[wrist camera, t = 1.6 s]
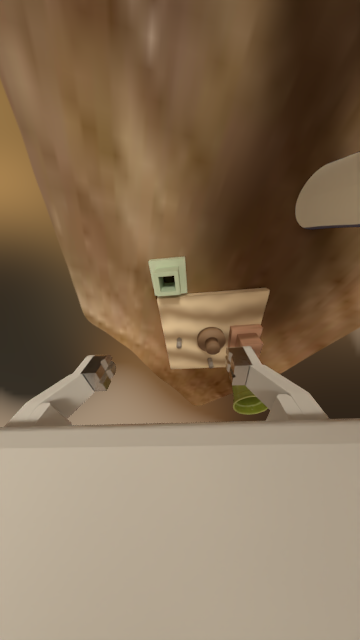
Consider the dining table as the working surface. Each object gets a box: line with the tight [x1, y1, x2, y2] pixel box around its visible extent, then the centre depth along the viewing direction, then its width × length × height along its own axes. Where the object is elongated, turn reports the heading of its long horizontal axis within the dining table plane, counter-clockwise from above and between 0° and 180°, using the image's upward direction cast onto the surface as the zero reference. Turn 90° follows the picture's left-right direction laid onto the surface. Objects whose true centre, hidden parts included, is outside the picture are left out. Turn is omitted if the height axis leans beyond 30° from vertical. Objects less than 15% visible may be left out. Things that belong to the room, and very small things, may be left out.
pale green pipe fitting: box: [148, 256, 187, 296], centre depth 25 cm, size 6×6×5 cm
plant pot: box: [232, 385, 268, 414], centre depth 40 cm, size 9×9×9 cm
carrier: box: [157, 288, 270, 369], centre depth 32 cm, size 22×22×7 cm
